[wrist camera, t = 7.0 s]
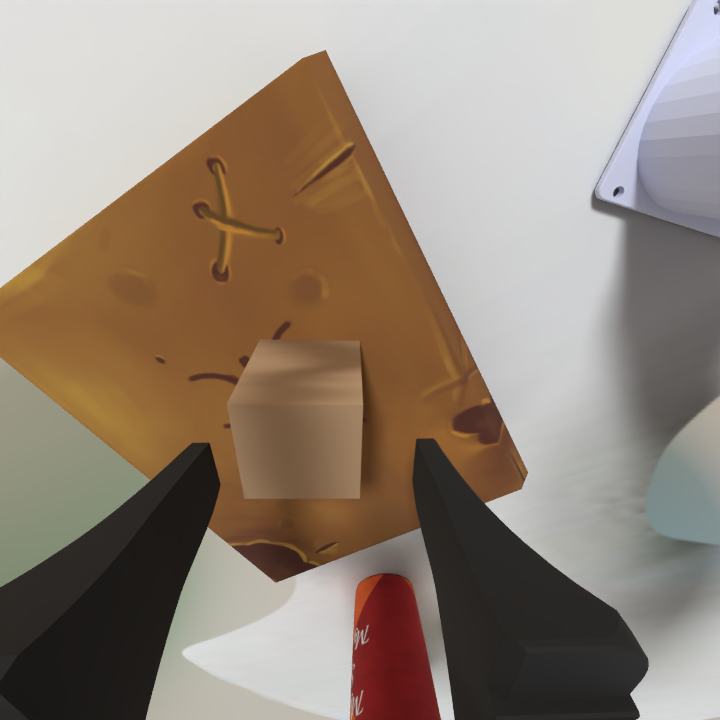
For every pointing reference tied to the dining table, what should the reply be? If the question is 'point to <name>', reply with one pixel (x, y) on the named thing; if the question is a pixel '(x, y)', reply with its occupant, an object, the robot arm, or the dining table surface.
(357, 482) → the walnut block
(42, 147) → the dining table surface
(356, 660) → the paper cup
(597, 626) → the robot arm
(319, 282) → the diary
